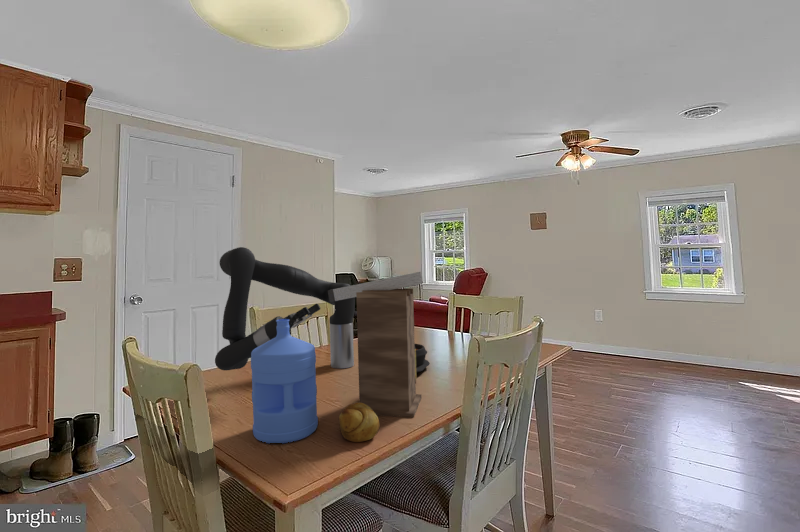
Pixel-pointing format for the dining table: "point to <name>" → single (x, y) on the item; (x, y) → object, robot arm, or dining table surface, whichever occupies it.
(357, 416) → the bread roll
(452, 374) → the dining table surface
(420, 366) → the casserole
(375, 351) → the stand
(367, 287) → the steel bar
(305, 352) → the water jug
